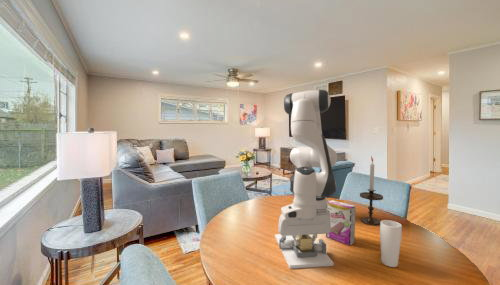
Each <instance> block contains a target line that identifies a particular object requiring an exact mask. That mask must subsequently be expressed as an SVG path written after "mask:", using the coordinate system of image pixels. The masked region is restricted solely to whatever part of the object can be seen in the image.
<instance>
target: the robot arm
mask: <svg viewBox="0 0 500 285" xmlns="http://www.w3.org/2000/svg"><path fill="white" fill-rule="evenodd" d="M331 101H332V100H331V96H330V94H329V92H328V90H326V89H319V90H314V89H311V90H305V91H304V90H303V91H299V92H294V93H288V94H286V95H285V96H284V98H283V102H282V106H283V109H284V112H285V113H286V114H287V115H290V133H291V137H292V138H293V139H294V140H295V141H296V142H297V143H299V144H301V145H303V146H297V147H293V148H292V149H291V151H290V152H289V160H290V162H291V163H292V164H293V165H294V166H295V167H296V169H295V171H294V173H293V174H292V175H290V176H289V180H290V183H289V184H290V188H289V191H290V192H291V193H292V194H293V196H294V198H293V200H292V203H290V204H288V205H284V206H282V207H281V208H280V212H281V214H280V215H279V219H278V225H277V229H278V230H277V231H278V234H281V236H292V237H293V239H294V244H295V246H299V240H296V238H297V235H311V236H312V245H314V241H316V240H317V238H318V235H326V234H328V233H330V231H331V224H330V216H331V214H330V211H329V210H327V202H328V201H329V200H328V199H329V198H330V197H332V196H333V195H335V193H336V192H337V183H336V178H335V175H334V172H333V171H334V170H333V167H335V165H336V164H337V162H338V154H337V152H336V151H335V149H333V148H332V147H331V146H329V145H328V144H327V141H326V137H325V136H324V135H323V131H322V130H323V129H322V120H321V114H323V113H324V112H326V111H328V110H329V109H330V106H331ZM314 168H320V169H321V171H320V172H316V170H315V169H314Z"/></svg>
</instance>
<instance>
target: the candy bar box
mask: <svg viewBox="0 0 500 285" xmlns="http://www.w3.org/2000/svg"><path fill="white" fill-rule="evenodd" d="M356 207H357V206H356V205H353V204H349V203H347V202H346V203H345V202H341V201H338V200H333V199H330V200H328V202H327V210H329V211H330V214H331V216H330V224H331V231H330V233H328V234H325V238H328V239H330V240H333V241H336V242H339V243H341V244H343V245H347V246H349V247H350V246H352V245H353V244H354V243H355V237H356V235H355V234H356V232H355V231H356Z"/></svg>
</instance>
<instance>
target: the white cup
mask: <svg viewBox="0 0 500 285" xmlns="http://www.w3.org/2000/svg"><path fill="white" fill-rule="evenodd" d="M379 238H380V239H379V240H380V242H379V243H380V261H381V263H382V264H383V265H385V266H386V267H390V268H396V267H397V266H398V265H399V258H400V250H401V243H402V238H403V225H402V224H401V223H399V221H395V220H389V219H381V221H380V225H379Z"/></svg>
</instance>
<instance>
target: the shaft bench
mask: <svg viewBox="0 0 500 285" xmlns="http://www.w3.org/2000/svg"><path fill="white" fill-rule="evenodd" d="M312 236H313V235H312V234H310V237H311V238H312ZM274 239H275V240H276V242H277V245H278V247H279V249H280V251H281V252H282V255H283V258H284V259H285V261H286V263H287V266H288V268H289V269H304V268H306V269H308V268H319V267H333V266H334V262H333V260H332V259H331V258H330V257H329V255H328V254H327V243H326V242H324V240H323V239H321V238H320V239H318V242H317V240H315V241H314V245H312V251H310V252H300V250H299V249H298V247H297V246H295V244H294V239H293V237H292V236H281V234H280V233H275V234H274ZM296 240H297V238H296Z"/></svg>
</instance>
